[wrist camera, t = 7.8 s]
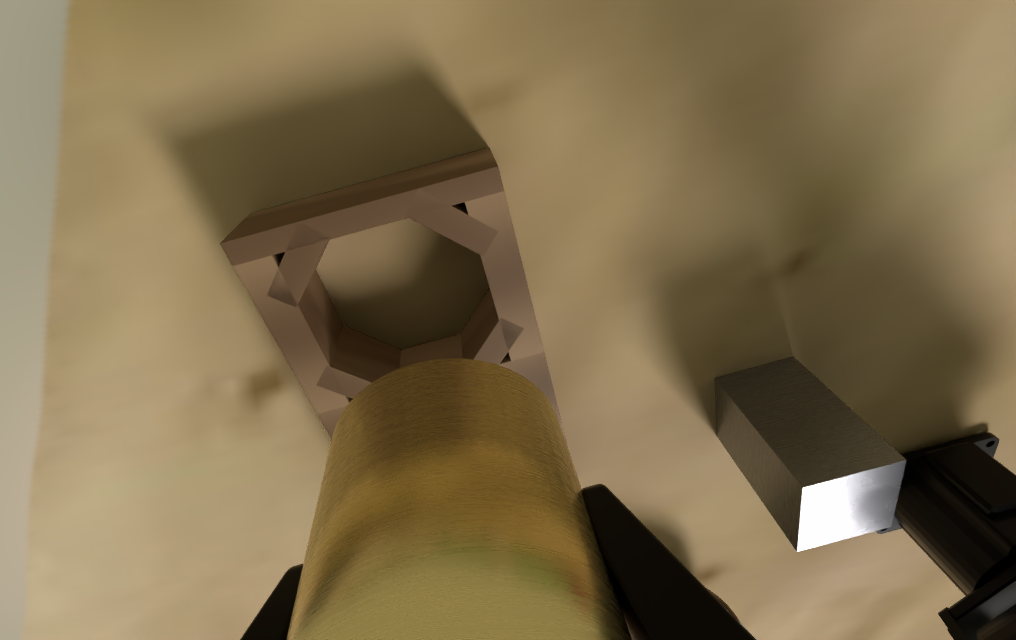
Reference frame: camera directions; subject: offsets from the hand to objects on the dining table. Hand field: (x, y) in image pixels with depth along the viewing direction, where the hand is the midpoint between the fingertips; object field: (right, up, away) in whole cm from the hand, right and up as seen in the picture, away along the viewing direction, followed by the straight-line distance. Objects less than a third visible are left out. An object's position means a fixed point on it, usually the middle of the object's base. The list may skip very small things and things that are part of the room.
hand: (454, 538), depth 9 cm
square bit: (+14, 0, +17) cm, 22 cm away
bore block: (-2, +1, +14) cm, 14 cm away
